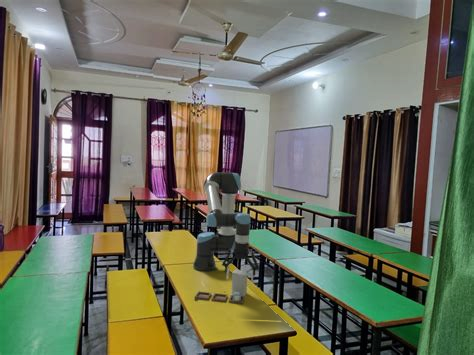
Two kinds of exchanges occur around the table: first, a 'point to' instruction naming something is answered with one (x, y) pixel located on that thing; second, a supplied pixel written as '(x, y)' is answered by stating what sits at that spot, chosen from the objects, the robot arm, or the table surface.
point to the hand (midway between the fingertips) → (239, 279)
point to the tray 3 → (236, 301)
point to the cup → (239, 281)
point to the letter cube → (236, 296)
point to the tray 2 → (219, 297)
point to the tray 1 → (202, 295)
